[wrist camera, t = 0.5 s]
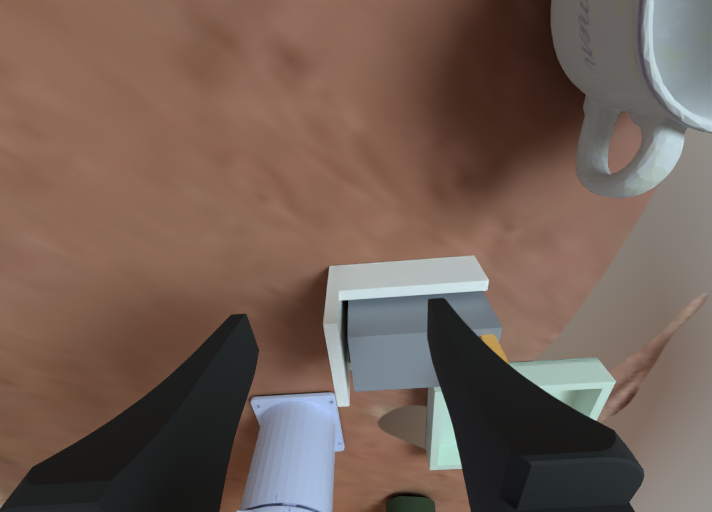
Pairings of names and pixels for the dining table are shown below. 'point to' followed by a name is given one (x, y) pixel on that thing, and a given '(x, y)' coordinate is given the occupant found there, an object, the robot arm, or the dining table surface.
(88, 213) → the dining table surface
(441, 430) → the tray
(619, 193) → the teacup
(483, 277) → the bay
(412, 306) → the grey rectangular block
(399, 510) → the character mug
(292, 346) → the dining table surface
